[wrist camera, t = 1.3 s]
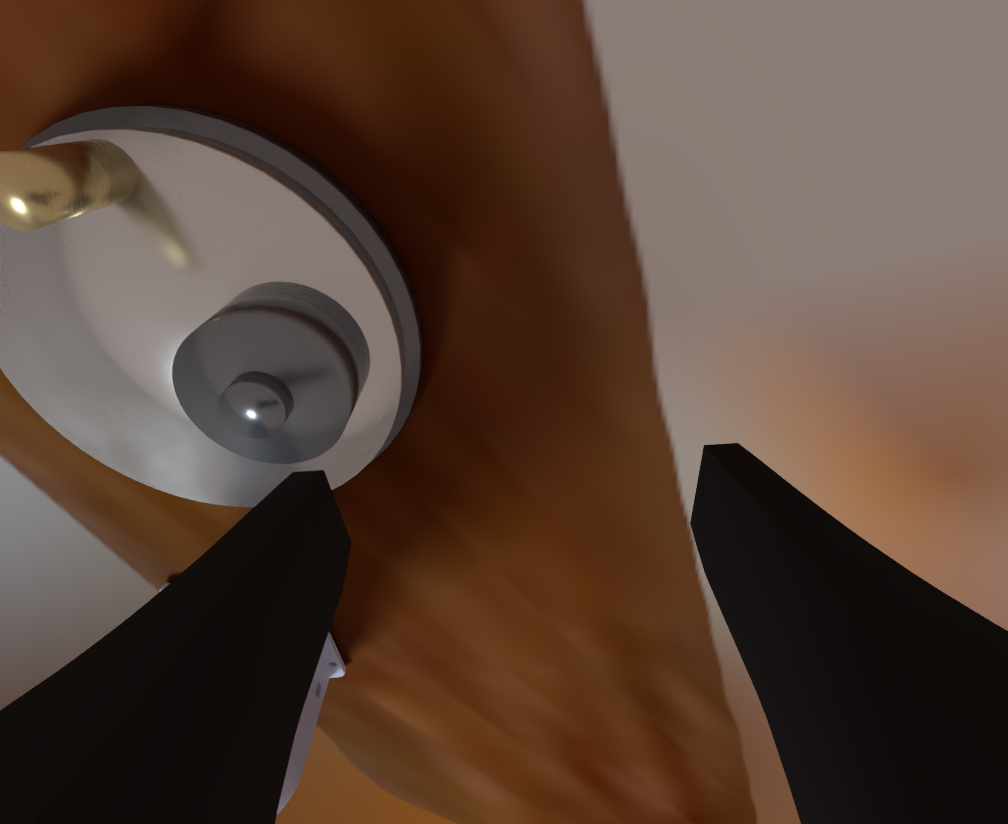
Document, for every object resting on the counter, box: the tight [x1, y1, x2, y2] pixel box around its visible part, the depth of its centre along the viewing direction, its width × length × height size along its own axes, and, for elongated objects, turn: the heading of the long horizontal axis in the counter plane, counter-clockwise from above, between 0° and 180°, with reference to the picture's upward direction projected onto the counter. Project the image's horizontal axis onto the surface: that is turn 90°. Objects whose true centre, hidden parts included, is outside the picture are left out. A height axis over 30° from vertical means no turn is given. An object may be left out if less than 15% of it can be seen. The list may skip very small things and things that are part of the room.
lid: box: [172, 282, 370, 464], centre depth 16 cm, size 5×5×4 cm
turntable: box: [0, 127, 406, 507], centre depth 16 cm, size 14×14×5 cm
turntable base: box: [21, 105, 424, 462], centre depth 19 cm, size 15×15×1 cm
